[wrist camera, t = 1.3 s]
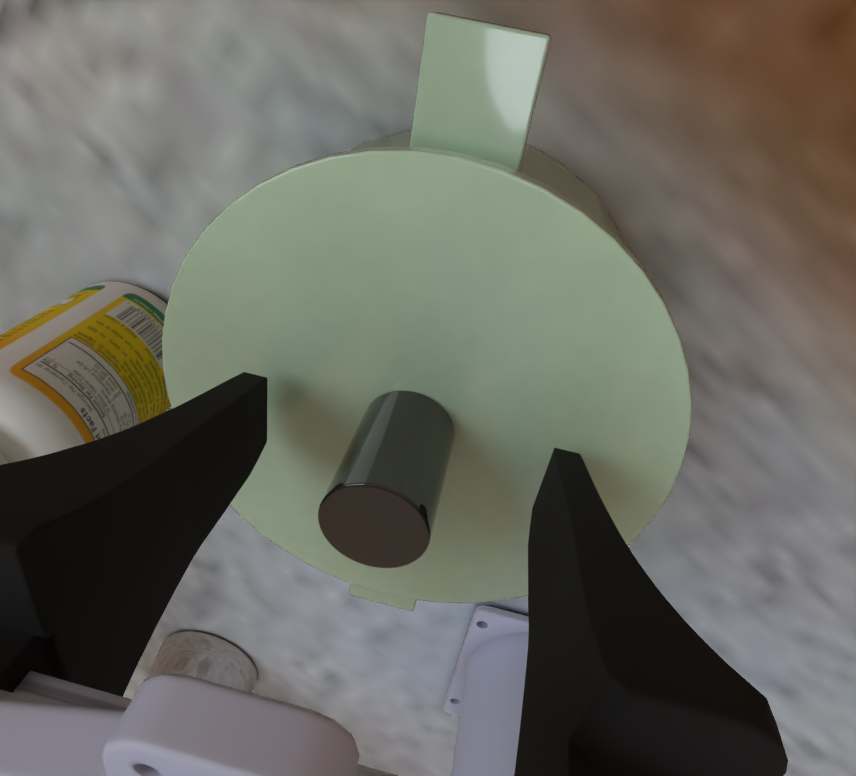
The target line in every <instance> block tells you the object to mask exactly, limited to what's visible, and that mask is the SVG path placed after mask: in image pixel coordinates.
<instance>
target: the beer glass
mask: <svg viewBox="0 0 856 776" xmlns="http://www.w3.org/2000/svg"><path fill="white" fill-rule="evenodd" d="M166 673H172V674H180V675H187V676H193V677H197V678H200V679H204V680H207V681H211V682H214V683H218V684H222V685H225V686H229V687H232V688H236V689H239V690H243V691H247V692H250V693H251V692H252V691H253V689H254V687H255V685H256V683H257V677H258V676H257V671H256V668H255V666H254V664H253V663H252V661H251V660H250V659H249V657H248V656H247V655H246V654H245V653H244V652H242V651H241V650H240V649H239V648H237V647H236V646H234V645H233V644H231V643H229V642H228V641H226V640H224V639H221V638H219V637H216V636H214V635H211V634H207V633H203V632H197V631H182V632H177V633H174V634H172V635H170V636H168V637H167V638H166V639H165V640H164V642H163V643H162V645H161V647H160V649H159V651H158V654H157V656H156V658H155V661H154V663H153V666H152V668H151V671H150V673H149V676H148V678H147V679H150V678H154V677H157V676H160V675H163V674H166Z"/></svg>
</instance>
